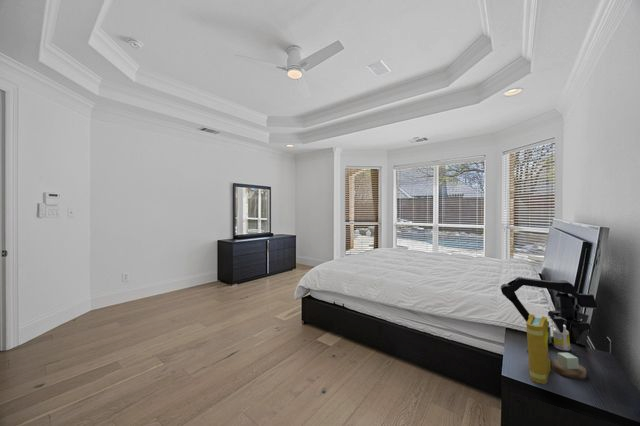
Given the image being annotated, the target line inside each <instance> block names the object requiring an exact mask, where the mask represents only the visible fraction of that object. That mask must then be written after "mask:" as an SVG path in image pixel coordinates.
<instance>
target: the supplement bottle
mask: <svg viewBox="0 0 640 426" xmlns="http://www.w3.org/2000/svg"><path fill="white" fill-rule="evenodd" d="M552 337H553V346H554V348H556V349H558V350H561V351H570V350H571V342H570V332H569V330H567V326H566V325H565V324H564V323H563V333H561V332H560V331H559V329H558V328H557V326H556V325H555V324H554V327H553V328H552Z"/></svg>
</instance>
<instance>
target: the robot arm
mask: <svg viewBox="0 0 640 426" xmlns="http://www.w3.org/2000/svg"><path fill="white" fill-rule="evenodd" d="M523 286H525V287H526V286H527V287H534V288H542V289H548V290H552V291H556V292H555V293H553V296H554V297H556V298H558V301H559V306H558V305H557V309H558V310H549V311H548V312H547V316H548V317H549V319H551V320H552V321H553V323H554V326H555V325H556V326H557V328H558V329H559V331H560V332H561V333H563V324H564V322H565V321H566V322H568V323H570V327H571V331H572V333H573V337H574V338H575V341H577V342H579V341H580V340H581V337H582V335H583V333H584V332H585V331H590V330H592V325H591V324H590V323H589V322H588V319H589V315H588V314H586V313H583V312H581V311H580V310H579V309H577V308H576V307H575V306H578V307H579V308H583V309H594V310H595V309H597V305H598V304H597V302H596V299H595V295H594V294H592V293H579V292H578V291H577V290H576V288H575V286H574V285H573V284H572V282H571V283H570V282H569V281H568V280H565V279H563V280H561V279H556V280H555V279H554V280H547V279H546V280H543V279H538V278H528V277H523V276H517V277H516V278H515V279H513V280H510V281H509V282H507V283H503V284H501V286H500V291H501V294H502V295H503V296H504V297H506V299H508V301H510V302H511V303H512V305H513V306H514V307H515V309H516V310H517V311H518V313H519V314H520V315H521V317H522V318H523V319H524V320H525V322H526V323H527V321H528V319H529V318H528V316H529V314H530V313H529V311H528V309H527V308H526V307H525V306H524V304H523V302H521V301H520V299H519V298H518V296H517V294H516V292H517V291H518V290H519V289H520V288H521V287H523ZM548 335H549V334H548ZM548 341H549V336H548ZM526 352H528V349H526Z"/></svg>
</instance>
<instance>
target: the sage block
mask: <svg viewBox="0 0 640 426" xmlns="http://www.w3.org/2000/svg"><path fill="white" fill-rule="evenodd" d="M557 359H558V363H559V364H560V365H562V366H564V367H565V368H567V369H579V365H580V364H579V357H577V356H576V355H574V354H572V353H570V352H557ZM578 364H579V365H578Z"/></svg>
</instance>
